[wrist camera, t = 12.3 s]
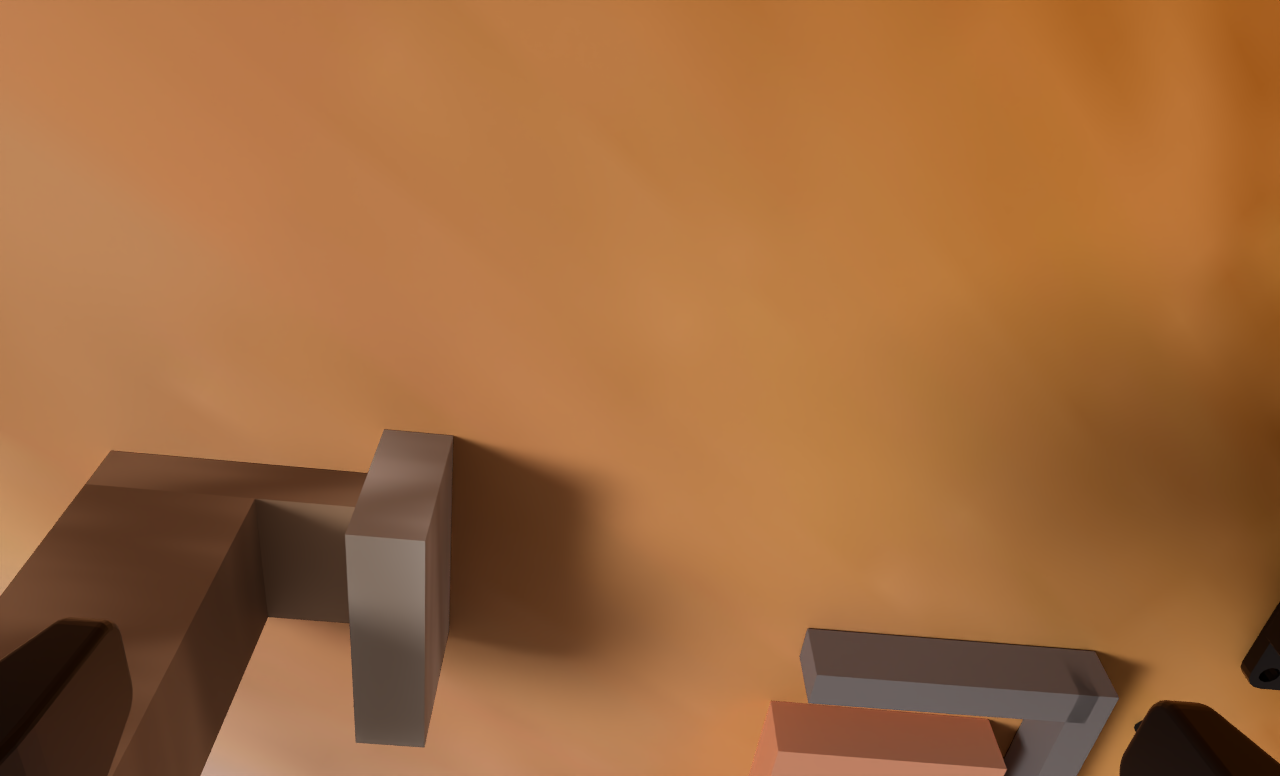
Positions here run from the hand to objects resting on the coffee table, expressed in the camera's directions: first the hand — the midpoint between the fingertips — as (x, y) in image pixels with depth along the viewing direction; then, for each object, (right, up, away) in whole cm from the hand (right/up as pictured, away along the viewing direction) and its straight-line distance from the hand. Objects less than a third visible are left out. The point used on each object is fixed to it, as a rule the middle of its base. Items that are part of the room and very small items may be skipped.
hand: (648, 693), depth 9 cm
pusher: (-8, -1, +15) cm, 17 cm away
